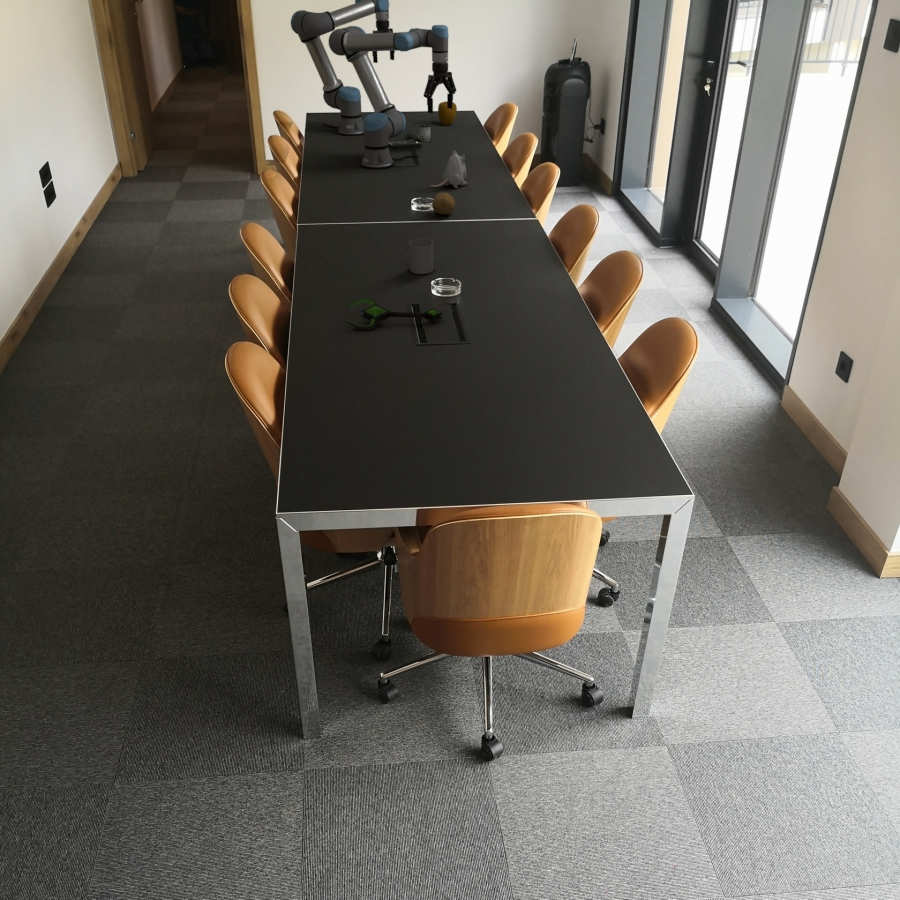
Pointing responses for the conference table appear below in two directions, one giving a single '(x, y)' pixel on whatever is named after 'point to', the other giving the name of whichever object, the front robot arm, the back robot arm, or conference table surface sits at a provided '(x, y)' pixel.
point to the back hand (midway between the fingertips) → (383, 61)
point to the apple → (446, 113)
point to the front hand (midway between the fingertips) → (440, 110)
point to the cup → (421, 256)
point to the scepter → (389, 314)
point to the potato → (443, 203)
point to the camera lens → (424, 133)
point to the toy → (454, 171)
